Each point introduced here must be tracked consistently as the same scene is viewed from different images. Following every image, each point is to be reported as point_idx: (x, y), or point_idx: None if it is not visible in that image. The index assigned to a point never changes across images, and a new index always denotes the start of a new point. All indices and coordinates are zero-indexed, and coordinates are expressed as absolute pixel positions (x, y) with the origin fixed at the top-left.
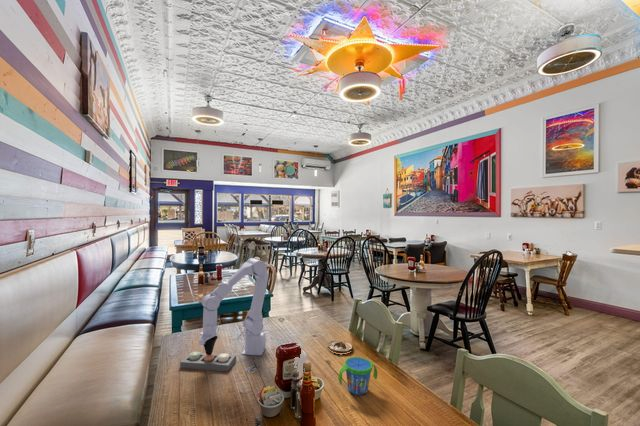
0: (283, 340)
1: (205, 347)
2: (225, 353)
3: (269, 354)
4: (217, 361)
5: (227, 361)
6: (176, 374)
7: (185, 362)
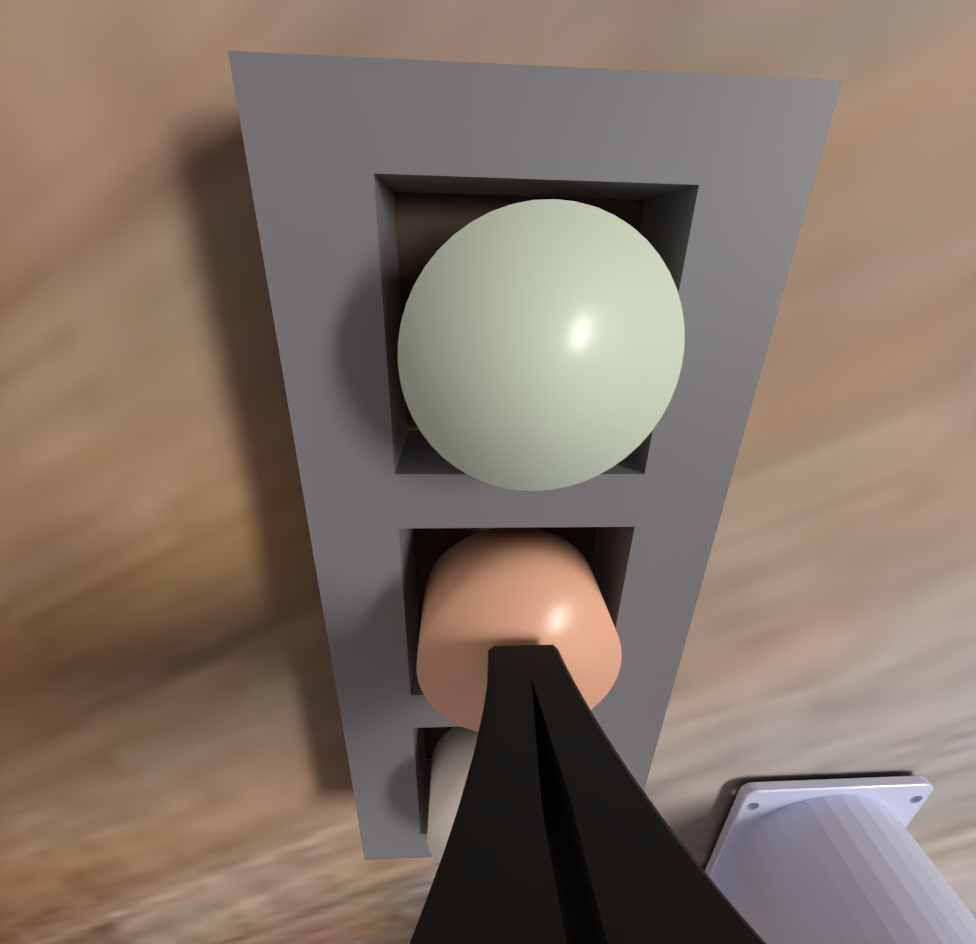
0: None
1: (472, 833)
2: None
3: None
4: None
5: None
6: (48, 175)
7: (263, 235)
